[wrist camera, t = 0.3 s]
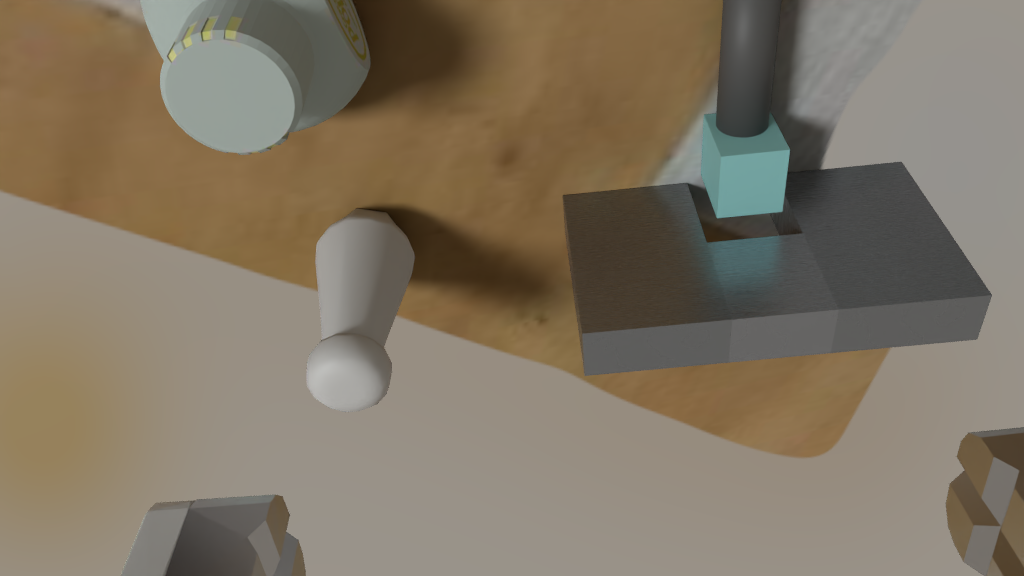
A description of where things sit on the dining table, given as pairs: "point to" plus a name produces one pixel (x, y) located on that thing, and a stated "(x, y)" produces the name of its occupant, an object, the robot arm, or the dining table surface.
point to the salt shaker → (357, 308)
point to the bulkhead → (767, 275)
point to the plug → (745, 116)
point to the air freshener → (256, 66)
